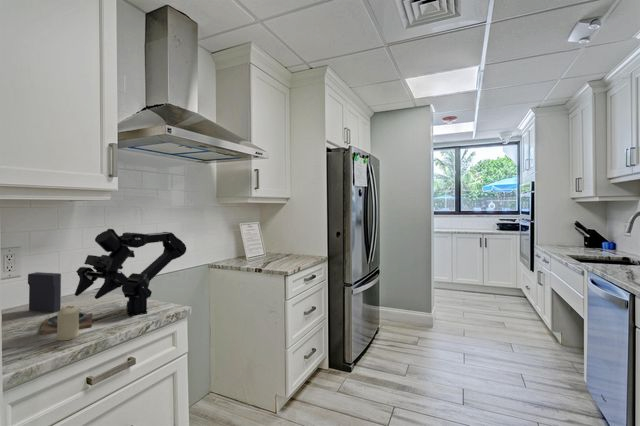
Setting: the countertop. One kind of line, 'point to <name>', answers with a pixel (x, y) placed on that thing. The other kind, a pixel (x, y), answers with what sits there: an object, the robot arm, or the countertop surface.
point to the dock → (54, 329)
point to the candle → (68, 323)
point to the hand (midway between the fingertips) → (85, 296)
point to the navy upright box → (44, 292)
